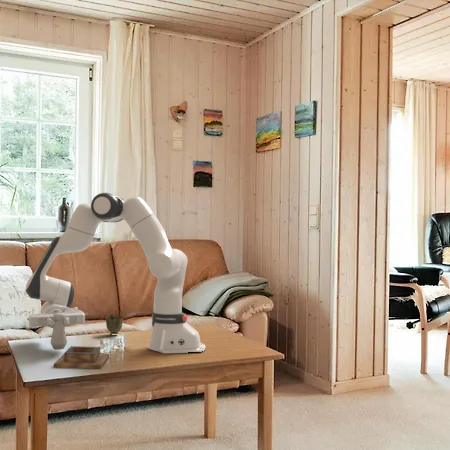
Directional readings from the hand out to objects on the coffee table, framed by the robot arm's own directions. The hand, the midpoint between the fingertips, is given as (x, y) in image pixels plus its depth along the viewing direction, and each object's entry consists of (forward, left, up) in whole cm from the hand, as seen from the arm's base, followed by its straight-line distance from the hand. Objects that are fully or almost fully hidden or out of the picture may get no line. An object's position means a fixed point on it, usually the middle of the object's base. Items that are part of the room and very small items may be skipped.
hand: (59, 322), depth 213 cm
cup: (-14, -38, -12) cm, 42 cm away
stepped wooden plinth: (-10, +8, -12) cm, 18 cm away
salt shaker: (0, -1, -10) cm, 10 cm away
